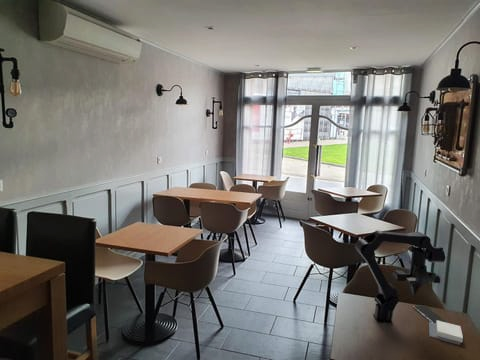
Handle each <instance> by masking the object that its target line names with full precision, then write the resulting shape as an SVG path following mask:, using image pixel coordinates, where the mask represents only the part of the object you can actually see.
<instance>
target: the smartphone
mask: <svg viewBox="0 0 480 360" xmlns="http://www.w3.org/2000/svg"><path fill="white" fill-rule="evenodd" d="M412 307H413V309H415V311H416V312H418V313H419V314H420V315H422V317H423V318H425V319H426V320H427V321H428V322H432V323H436V320H438V321H442V322H446V323H448V322H447V321H446V319H443V318H442V317H441V316H440V315H438V314H437V313H436V312H435V311H433V310H432V309H431V308H430V307H429V306H428V305H423V304H422V305H421V304H420V305H418V304H417V305H412Z"/></svg>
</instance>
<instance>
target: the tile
mask: <svg viewBox="0 0 480 360" xmlns="http://www.w3.org/2000/svg"><path fill="white" fill-rule="evenodd" d="M446 322H447V321H446ZM446 322H442V321H438V320H436V331H437V336H440V337H443V338H447V339H451V340H454V341H458V342H460V343H463V339H464V338H463V332H462V328H461V327H462V326H461V325H457V324H453V323H449V322H447V323H446Z"/></svg>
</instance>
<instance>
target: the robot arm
mask: <svg viewBox="0 0 480 360" xmlns="http://www.w3.org/2000/svg"><path fill="white" fill-rule="evenodd" d="M431 241H432V239H431V238H430V236H427V235H426V234H424V233H422V232H421V231H414V232H413V231H411V232H409V233H404V232H403V233H402V232H393V231H383V230H379V229H378V230H375V231H374V232H372V233H370V234H368V235H365V236H364V237H362V238H361V239H358V240H357V241H356V242H355V243H354V248H355V250H356V251H357V253H358V254H359V255H361V257H362V258H363V259H364V261H365V263H366V264H367V267H368V268H369V270H370V272H371V274H372V276H373V278H374V280H375V282H376V284H377V287H378V293H377V294H376V295H375V296H374V297H373V299H374V301H375V309H374V313H372V315H373V317H374V318H375V319H376V321H377V322H378V323H386V324H387V323H389V324H390V323H391V324H392V323H393V314H394V310H395V308H396V307H397V305H398V303H399V301H400V298H399V297H400V294H398V291H397V288H396V287H394V286H393V284H392V283H390V282H389V283H388V281H387V279H386V276H385V275H384V273H383V271H382V269H381V267H380V265H379V264H378V261H377V259H376V253H375V251H377V250H378V249H379V247H380V246H381V244H382V243H384V242H385V243H386V242H387V243H394V244H395V243H396V244H405V245H406V244H407V245H411V246H409V247H407V250H408V252H411V258H410V260H408V261H409V262H408V263H409V264H410V266H409V269H408V273H407V272H405V271H404V270H397V269H394V270H393V272H392V276H393V278H395V280H396V281H398V282H406V281H407V282H408V283H409V286H410V290H411V293H412V295H413V296H416V295H417V293H418V292H419V290H420V288H421V287H422V286H423V285H430V283H431V282H432V283H434V284H441V281H442V279H441V276H439V275H438V274H437V273H435V272H434V271H433V272H431V271H428V269H427V265H426V261H427V262H429V263H444V262H445V261H446V254H445V251H444V247H442V246H438V245H437V246H433V245H432V242H431Z"/></svg>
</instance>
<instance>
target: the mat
mask: <svg viewBox="0 0 480 360" xmlns="http://www.w3.org/2000/svg"><path fill="white" fill-rule="evenodd" d="M428 331H429V332H428V335H429V338H431V339H432V338H433V339H437V340H439V341H444V342H447V343H451V344H454V345H457V346H458V345H459V346H461V342H458V341H454V340H451V339H447V338H443V337H440V336H437V331H436V323H432V322H430V321H428Z"/></svg>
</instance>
